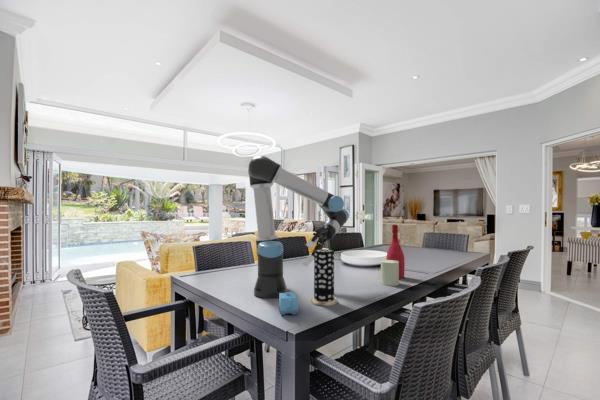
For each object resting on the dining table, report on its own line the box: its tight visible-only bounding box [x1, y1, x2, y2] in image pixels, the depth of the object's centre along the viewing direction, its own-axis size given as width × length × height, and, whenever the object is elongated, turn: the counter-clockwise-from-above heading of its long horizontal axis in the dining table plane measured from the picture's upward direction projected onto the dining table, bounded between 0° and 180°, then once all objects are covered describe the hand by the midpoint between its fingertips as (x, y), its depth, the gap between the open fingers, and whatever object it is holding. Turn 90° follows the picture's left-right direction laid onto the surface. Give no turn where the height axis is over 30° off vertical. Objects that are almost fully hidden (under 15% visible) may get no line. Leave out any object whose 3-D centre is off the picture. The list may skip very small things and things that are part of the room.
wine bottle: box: [385, 224, 406, 280], centre depth 170 cm, size 10×10×30 cm
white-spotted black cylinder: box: [313, 248, 335, 302], centre depth 125 cm, size 8×8×20 cm
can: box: [380, 259, 400, 287], centre depth 156 cm, size 9×9×12 cm
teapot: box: [278, 291, 298, 316], centre depth 111 cm, size 12×6×8 cm, turn 8°
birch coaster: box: [310, 296, 338, 307], centre depth 125 cm, size 11×11×1 cm
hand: (306, 255), depth 138 cm, fingers open, 13 cm apart
